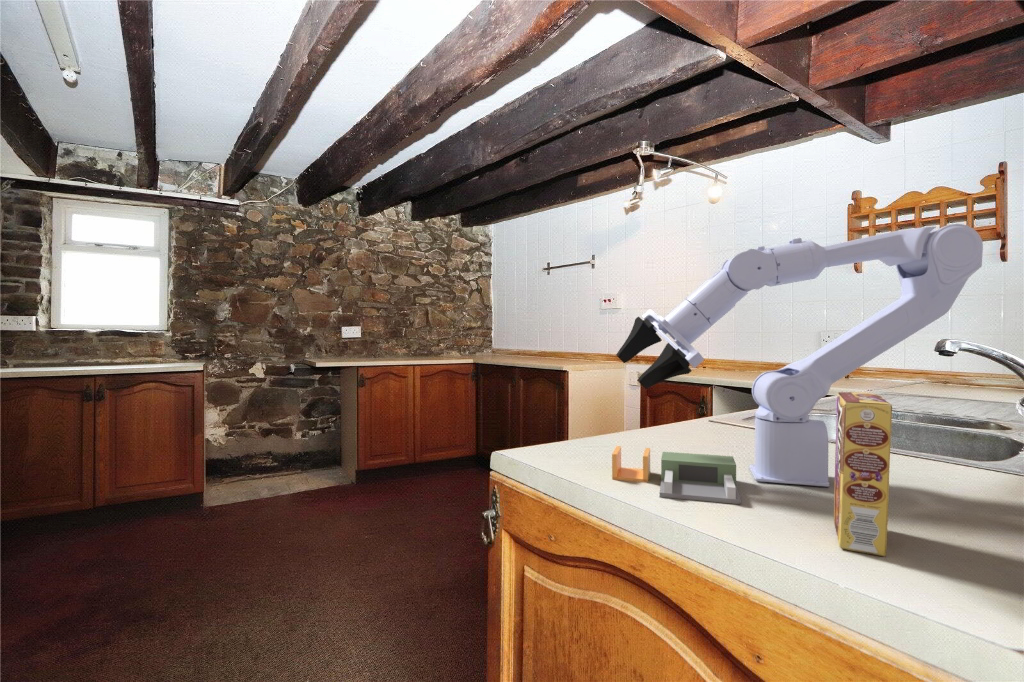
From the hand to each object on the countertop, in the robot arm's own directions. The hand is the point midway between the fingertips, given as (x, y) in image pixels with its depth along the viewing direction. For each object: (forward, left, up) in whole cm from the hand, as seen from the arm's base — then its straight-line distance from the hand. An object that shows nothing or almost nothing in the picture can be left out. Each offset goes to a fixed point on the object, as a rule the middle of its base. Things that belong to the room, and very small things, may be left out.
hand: (630, 371), depth 81 cm
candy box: (-26, +19, -16) cm, 36 cm away
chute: (0, +3, -16) cm, 16 cm away
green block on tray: (-10, +6, -16) cm, 20 cm away
